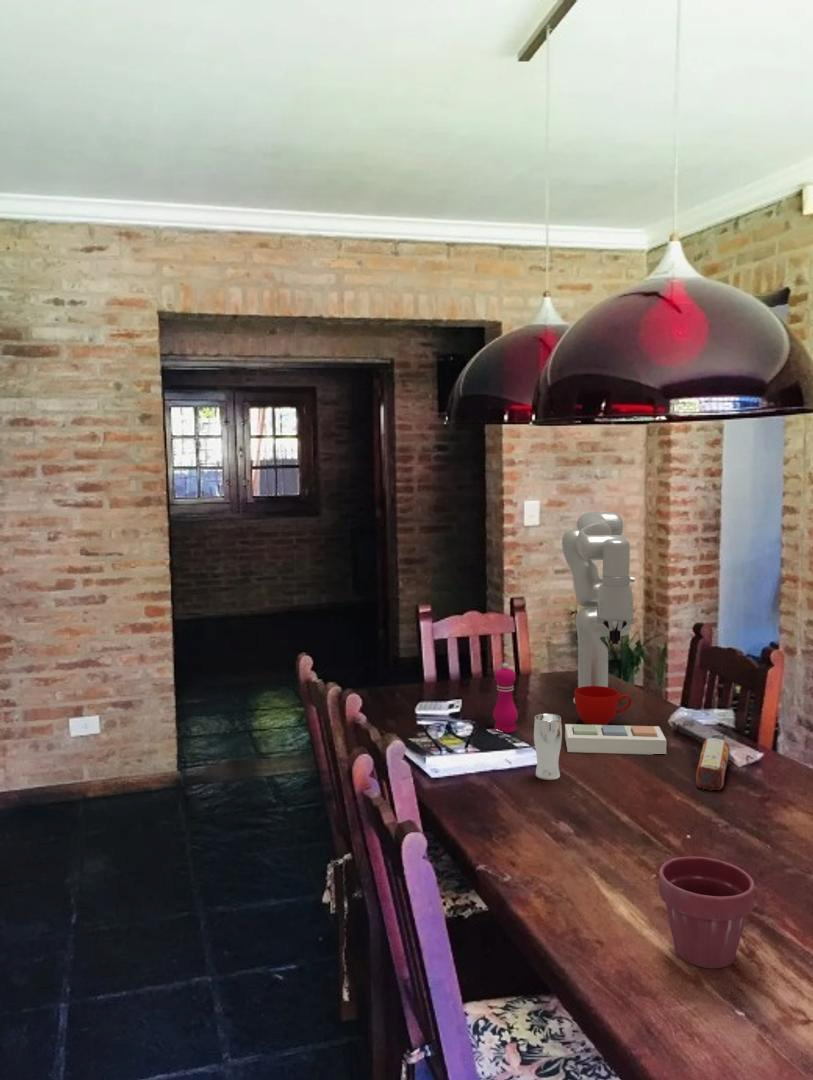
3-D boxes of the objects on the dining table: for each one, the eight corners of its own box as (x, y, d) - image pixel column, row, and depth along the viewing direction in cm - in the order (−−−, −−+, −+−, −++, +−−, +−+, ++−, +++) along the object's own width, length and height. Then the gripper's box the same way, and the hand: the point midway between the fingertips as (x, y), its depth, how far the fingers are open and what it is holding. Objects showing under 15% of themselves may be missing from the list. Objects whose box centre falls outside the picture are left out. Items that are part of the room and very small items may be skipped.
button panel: (565, 737, 240) (565, 724, 240) (658, 740, 237) (658, 726, 236) (567, 752, 228) (567, 737, 228) (666, 754, 225) (666, 740, 224)
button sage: (572, 733, 236) (572, 724, 236) (594, 733, 236) (594, 724, 235) (574, 739, 231) (574, 731, 230) (596, 740, 230) (596, 731, 230)
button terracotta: (631, 734, 234) (631, 725, 234) (653, 735, 234) (653, 726, 233) (634, 741, 228) (634, 732, 228) (656, 742, 228) (656, 733, 227)
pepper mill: (509, 735, 243) (509, 667, 241) (488, 730, 247) (488, 664, 246) (522, 728, 249) (522, 662, 247) (501, 724, 253) (500, 659, 251)
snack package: (723, 793, 199) (724, 766, 198) (694, 789, 201) (694, 762, 201) (729, 764, 218) (730, 738, 217) (702, 760, 221) (703, 735, 220)
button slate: (601, 733, 235) (601, 725, 235) (623, 734, 235) (623, 725, 234) (604, 740, 230) (604, 731, 229) (626, 741, 229) (626, 732, 229)
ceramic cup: (636, 730, 246) (637, 697, 245) (578, 731, 246) (578, 697, 245) (626, 717, 258) (626, 685, 258) (570, 717, 259) (571, 686, 258)
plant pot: (723, 924, 142) (724, 851, 141) (771, 973, 128) (773, 893, 127) (643, 932, 140) (644, 858, 139) (683, 983, 126) (685, 902, 125)
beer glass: (529, 778, 210) (529, 719, 208) (539, 768, 216) (539, 712, 214) (556, 782, 206) (556, 723, 205) (565, 773, 213) (565, 715, 211)
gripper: (640, 579, 245) (639, 640, 248) (588, 578, 247) (587, 639, 250) (644, 583, 238) (642, 647, 240) (590, 583, 240) (589, 646, 242)
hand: (614, 643), depth 245 cm, fingers closed
